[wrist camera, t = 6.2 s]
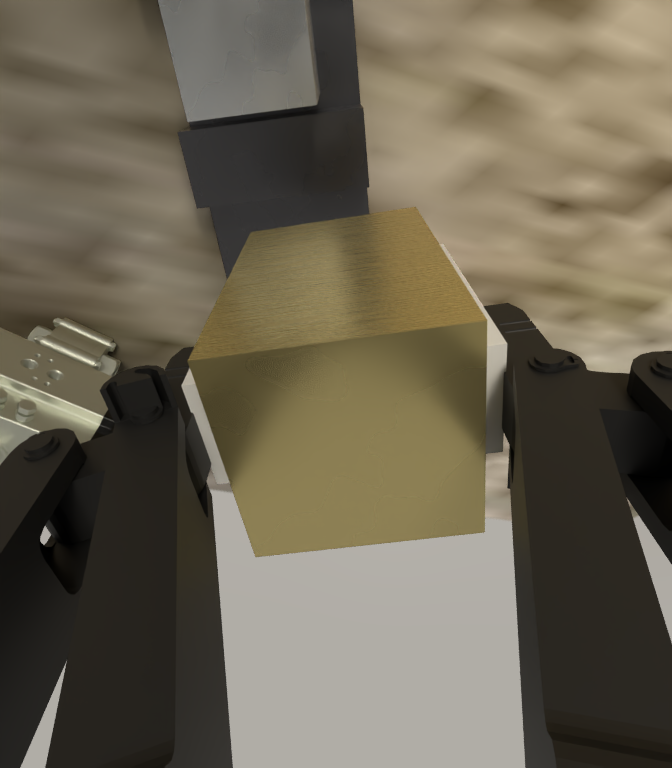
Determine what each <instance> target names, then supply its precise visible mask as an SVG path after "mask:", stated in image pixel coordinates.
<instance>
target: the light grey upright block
mask: <svg viewBox="0 0 672 768" xmlns="http://www.w3.org/2000/svg"><path fill="white" fill-rule="evenodd" d="M158 3H159V7H160V11H161V16H162V20H163V24H164V28H165V32H166V36H167V40H168V44H169V48H170V52H171V56H172V61H173V65H174V69H175V73H176V77H177V81H178V85H179V89H180V93H181V97H182V101H183V106H184V110H185V114H186V118H187V122H192V121H200V120H207V119H215V118H222V117H230V116H237V115H245V114H253V113H260V112H268V111H275V110H283V109H290V108H298V107H306V106H313V105H317V103H318V99H319V96H320V87H319V78H318V69H317V61H316V52H315V43H314V34H313V26H312V17H311V8H310V0H158Z"/></svg>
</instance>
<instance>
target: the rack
mask: <svg viewBox="0 0 672 768" xmlns="http://www.w3.org/2000/svg"><path fill="white" fill-rule="evenodd" d="M310 8H311V17H312V26H313V34H314V43H315V52H316V61H317V69H318V78H319V87H320V96H319V99H318V103H317V105H313V106H306V107H298V108H290V109H283V110H275V111H268V112H260V113H253V114H245V115H237V116H230V117H222V118H215V119H207V120H200V121H192V122H189V124H190V126H189V127H187V128H185V129H183V130H181V131H179V132H178V136H179V140H180V144H181V147H182V151H183V155H184V159H185V163H186V167H187V171H188V175H189V179H190V183H191V186H192V190H193V194H194V198H195V202H196V206H197V208H204V207H210V210H211V214H212V218H213V222H214V227H215V231H216V235H217V239H218V243H219V247H220V251H221V255H222V260H223V264H224V268H225V272H226V276H227V280H228V277H229V275H230V273H231V271H232V269H233V267H234V265H235V263H236V261H237V259H238V257H239V255H240V253H241V251H242V249H243V247H244V245H245V243H246V241H247V239H248V237H249V235H250V233H251V232H255V231H261V230H268V229H274V228H281V227H287V226H294V225H300V224H307V223H314V222H320V221H327V220H333V219H340V218H346V217H353V216H359V215H366V214H369V209H368V196H367V187H369V178H368V165H367V152H366V138H365V125H364V112H363V107H362V105H361V104H360V93H359V80H358V67H357V54H356V41H355V28H354V15H353V2H352V0H310Z"/></svg>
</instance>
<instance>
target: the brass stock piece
mask: <svg viewBox="0 0 672 768" xmlns="http://www.w3.org/2000/svg"><path fill="white" fill-rule="evenodd" d="M188 364H189V367H190V370H191V373H192V376H193V379H194V381H195V384H196V387H197V390H198V393H199V396H200V399H201V402H202V405H203V407H204V410H205V413H206V416H207V419H208V422H209V425H210V428H211V430H212V433H213V436H214V439H215V442H216V445H217V448H218V451H219V453H220V456H221V459H222V462H223V465H224V468H225V471H226V474H227V476H228V479H229V482H230V485H231V488H232V491H233V494H234V497H235V500H236V502H237V505H238V508H239V511H240V514H241V516H242V520H243V523H244V525H245V528H246V531H247V534H248V537H249V540H250V543H251V546H252V548H253V551H254V554H255V557H260V556H270V555H280V554H289V553H298V552H307V551H316V550H325V549H335V548H344V547H352V546H363V545H372V544H381V543H391V542H399V541H409V540H417V539H428V538H437V537H446V536H455V535H465V534H474V533H482V532H485V464H486V389H487V319H486V317H485V316H484V314H483V313H482V311H481V309H480V308H479V306H478V305H477V303H476V301H475V300H474V298H473V297H472V295H471V294H470V292H469V290H468V289H467V287H466V286H465V284H464V283H463V281H462V279H461V278H460V276H459V275H458V273H457V271H456V270H455V268H454V267H453V265H452V264H451V262H450V260H449V259H448V257H447V256H446V254H445V253H444V251H443V249H442V248H441V246H440V245H439V243H438V241H437V240H436V238H435V237H434V235H433V234H432V232H431V230H430V229H429V227H428V226H427V224H426V223H425V221H424V219H423V218H422V216H421V215H420V213H419V211H418V210H417V208H416V207H412V208H405V209H399V210H392V211H386V212H379V213H372V214H366V215H359V216H353V217H346V218H340V219H333V220H327V221H320V222H314V223H307V224H300V225H294V226H287V227H281V228H274V229H268V230H261V231H255V232H251V233H250V235H249V237H248V239H247V241H246V243H245V245H244V247H243V249H242V251H241V253H240V255H239V257H238V259H237V261H236V263H235V265H234V267H233V269H232V271H231V273H230V275H229V277H228V280H227V282H226V284H225V286H224V288H223V290H222V292H221V294H220V296H219V298H218V300H217V302H216V304H215V306H214V308H213V310H212V312H211V314H210V316H209V318H208V320H207V322H206V324H205V326H204V328H203V331H202V333H201V335H200V337H199V339H198V341H197V343H196V345H195V347H194V349H193V351H192V353H191V355H190V357H189V359H188Z"/></svg>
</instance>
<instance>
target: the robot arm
mask: <svg viewBox="0 0 672 768" xmlns="http://www.w3.org/2000/svg"><path fill="white" fill-rule="evenodd" d="M439 245H440V246H441V248H442V249H443V251H444V253H445V254H446V256H447V257H448V259H449V260H450V262H451V264H452V265H453V267H454V268H455V270H456V271H457V273H458V275H459V276H460V278H461V279H462V281H463V283H464V284H465V286H466V287H467V289H468V290H469V292H470V294H471V295H472V297H473V298H474V300H475V301H476V303H477V305H478V306H479V308H480V309H481V311H482V313H483V314H484V316H485V317H486V319H487V389H486V454H487V453H496V452H503V434H505V436H506V438H507V440H508V442H509V444H510V449H509V468H508V488H509V489H510V493H511V512H512V530H513V548H514V566H515V585H516V603H517V621H518V638H519V656H520V657H519V658H520V675H521V693H522V711H523V731H524V749H525V767H526V768H672V643H671V640H670V637H669V633H668V630H667V627H666V624H665V620H664V617H663V614H662V611H661V608H660V604H659V601H658V598H657V595H656V591H655V588H654V585H653V582H652V578H651V575H650V572H649V569H648V566H647V562H646V559H645V556H644V553H643V549H642V546H641V543H640V540H639V537H638V533H637V530H636V527H635V524H634V521H633V517H632V514H631V510H630V507H629V504H628V501H627V498H628V500H629V501H630V503H631V504H632V506H633V507H634V509H635V510H636V512H637V513H638V515H639V516H640V518H641V519H642V521H643V522H644V524H645V525H646V527H647V528H648V529H649V531H650V533H651V534H652V536H653V537H654V539H655V540H656V542H657V543H658V545H659V546H660V547H661V549H662V551H663V552H664V554H665V555H666V557H667V558H668V560H669V561H670V563H671V564H672V351H661V352H650V353H646V354H641V355H640V356H638V357H637V358H635V359H633V362H632V365H631V370H630V374H627V373H606V372H595V371H589V370H587V368H586V365H585V363H584V362H583V360H582V359H581V358H580V357H579V356H577V355H575V354H573V353H572V352H568V351H565V350H561V349H554V348H552V346H551V345H550V344H549V343H548V341H547V340H546V339H545V338H544V336H543V335H542V334H541V333H540V331H539V330H538V329H536V326H535V325H534V324H533V323H532V321H530V319H529V317H528V316H527V315H526V314H525V312H524V311H523V310H521V309H519V308H517V307H515V306H513V305H511V304H509V303H504V304H497V305H489V306H483V305H482V304H481V302H480V300H479V299H478V297H477V296H476V294H475V293H474V291H473V290H472V288H471V286H470V285H469V283H468V282H467V280H466V279H465V277H464V276H463V274H462V272H461V271H460V269H459V268H458V266H457V265H456V263H455V262H454V260H453V258H452V257H451V255H450V254H449V252H448V251H447V249H446V248H445V246H444V244H439ZM193 349H194V347H188V348H183V349H182V350H181V351H179V352H178V353H177V354H176V355H175V356H173V357H172V358H171V359H170V361H169V363H168V365H167V367H166V368H165V370H166V371H164V369H163V368H161V367H158V366H150V365H146V366H140V367H135V368H132V369H129V370H126V371H123V372H121V373H119V374H117V375H115V376H113V377H111V378H110V379H109V380H108V381H106V382H105V383H104V384H103V386H102V387H101V389H100V390H99V391H100V393H101V395H102V397H103V399H104V401H105V403H106V406H107V408H108V410H109V412H110V414H111V416H112V418H113V421H114V423H115V425H114V430H113V433H111V434H108V435H106V436H103V437H99V438H96V439H93V440H90V441H87V442H84V443H80V442H79V440H78V438H77V436H76V435H75V433H74V431H72V430H70V429H67V428H56V429H52V430H48V431H42V432H39V433H38V434H34V435H32V436H30V437H29V438H28V439H27V440H25V441H24V442H22V443H20V444H19V445H18V446H17V447H16V448H15V449H14V450H13V451H11V452H10V454H9V455H8V456H7V457H6V459H5V460H4V461H3V462H2V463H1V465H0V768H20V767H21V764H22V762H23V760H24V757H25V755H26V753H27V750H28V748H29V746H30V744H31V741H32V739H33V737H34V734H35V732H36V730H37V728H38V725H39V723H40V721H41V718H42V716H43V713H44V711H45V709H46V707H47V704H48V702H49V700H50V698H51V695H52V693H53V691H54V688H55V686H56V684H57V681H58V679H59V677H60V674H61V672H62V670H63V668H64V665H65V663H66V661H67V663H66V668H65V673H64V679H63V683H62V688H61V693H60V698H59V703H58V708H57V713H56V719H55V723H54V728H53V733H52V738H51V743H50V748H49V753H48V757H47V763H46V768H233V764H232V752H231V739H230V726H229V713H228V700H227V686H226V673H225V661H224V648H223V634H222V622H221V608H220V596H219V582H218V569H217V556H216V545H215V544H216V543H215V530H214V517H213V504H212V495H211V493H210V490H209V487H208V485H207V482H206V480H207V477H208V474H209V470H210V467H211V469H212V472H213V474H214V477H215V480H216V483H217V485H218V484H226V483H230V482H229V479H228V476H227V474H226V471H225V468H224V465H223V462H222V459H221V456H220V453H219V451H218V448H217V445H216V442H215V439H214V436H213V433H212V430H211V428H210V425H209V422H208V419H207V416H206V413H205V410H204V407H203V405H202V402H201V399H200V396H199V393H198V390H197V387H196V384H195V381H194V379H193V376H192V373H191V370H190V367H189V364H188V359H189V357H190V355H191V353H192V351H193ZM626 497H627V498H626ZM44 526H46V527H47V529H48V530H49V532H50V533H51V536H50V538H49V539H48V541H47V543H46V544H45V545H43V544H42V543H41V542H40V536H41V534H42V531H43V528H44Z"/></svg>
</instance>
